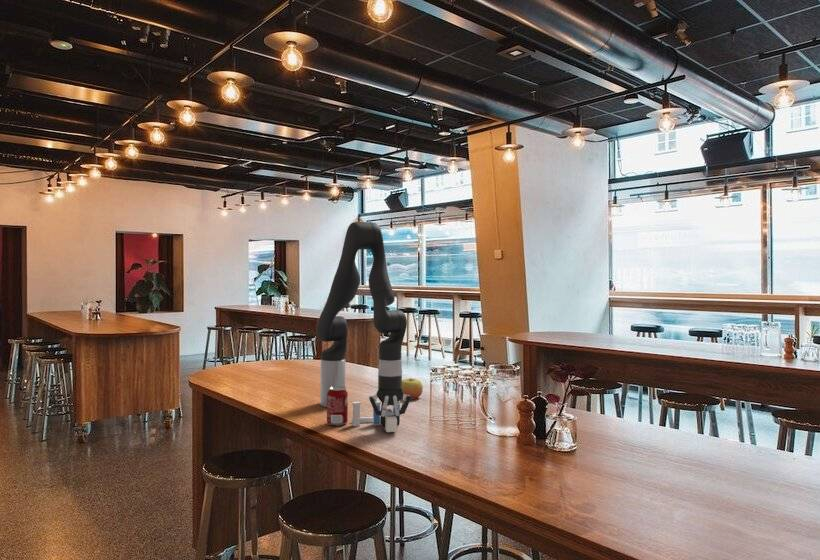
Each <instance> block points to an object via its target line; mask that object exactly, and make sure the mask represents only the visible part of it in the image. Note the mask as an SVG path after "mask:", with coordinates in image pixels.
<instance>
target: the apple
mask: <svg viewBox="0 0 820 560" xmlns="http://www.w3.org/2000/svg"><path fill="white" fill-rule="evenodd" d="M423 387H424V386H423V383H422V381H421V380H419V379H416V378H402V391H403V394H406V395H409V396H410V397H411V400H416V399H418V398H419V397H421V395H422V394H423V389H424V388H423Z"/></svg>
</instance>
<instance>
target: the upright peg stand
mask: <svg viewBox="0 0 820 560" xmlns="http://www.w3.org/2000/svg"><path fill="white" fill-rule="evenodd" d="M351 403H352V418H351V419H352V420H351V424H352V426H353V427H360V424H361V423H362V424H364V423H367V422H368V423H372V426H376V425H377V426H381V424H380V421H381V416H380V415H376V413H375V411H374V409H373V408H372V416H368V417H367V416H366V417H364V416H363V417H360V416H361V415H360V414H361V413H360V412H361V404H362V403H361V401H352V402H351ZM375 404H376V406H377V408H378V410H380V411H381V405H382V402H381V401H380V400H377V402H375ZM398 407H399V410H400V409H401V400H400V401H399V402H398ZM392 412H393V413H394V415H395V412H394V407H393V406H392ZM400 417H401V415H400V416H399V424H400V421H401V418H400ZM377 426H376V427H377Z"/></svg>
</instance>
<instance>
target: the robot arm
mask: <svg viewBox="0 0 820 560" xmlns="http://www.w3.org/2000/svg"><path fill="white" fill-rule="evenodd" d="M344 236H345V237H344V242H343V246H342V250H341V255H340V260H339V262H338V265H337V269H336V271H335V273H334V277H333V280H332V283H331V286H330V291H329V293H328V297H327V299H326V301H325V303H324V307H323V309H322V311H321V314H320V316H319V317H318V320H317V324H316V327H315V328H316V329H315V333H316V337H317V339H318V340H319V341H320V342H327V343H328V342H333V343H332V345H331V346H329V347H327V348H326V349H323V350H322V351H321V352H320V406H322V407H324V408H327V393H328V391H329V388H330V387H333V386H343V387H346V355H347V346H348V345H347V344H348V329H349V328H348V327H349V326H348V322H347V319H346V318H345V317H344V316H342V315H339V316H338V314H339V313H340V312H341V311H342V310H343V309H344V308H345V307H347V306H348V305H349V304H350V303H351V302H353V300H354V298H356V297H355V296H356V295H357V293H358V289H359V287H360V284H361V276H360V272H359V269H358V267H357V265H356V256H357V253H358V251H359V250H360V251H361V250H370V252H371V254H372V265H371V269H370V271H369V275H368V287H369V292H370V296H371V298H372V302H373V304H372V305H373V318H372V319H373V326H374V328H375V330H377V332H378V333H380V334H389V333H390V334H389V336H388V338H386V339H384V340H381V341H380V343H379V346H378V347H379V348H378V349H379V351H378V356H379V357H378V360H379V361H378V365H377V366H378V367H377V368H378V369H377V370H378V371H377V372H378V373H377V374H378V377H377V381H378V382H377V392H376V394H373V395H369V396H368V400H369V401H370V402H369V403H370V404H371V406H372V410H373V409H374V411H375V413H376V415H380V417H381V421H380V426H381V427H382V429H385V412H386V409H388V407H389V406H392V408H393V407H394V412H395V417H396V418H397V427H399V426H400V423H399V416H400V417H401V415H404V414H405V413H406V411H407V409H408V407H409V404H410V403H411V400H412V399H411V397H410V396H409V395H406V394H403V391H402V380H403V364H402V346H403V342H404V338H405V333H406V330H407V328H408V327H407V326H408V319H407V316H406V314H405V313H404V311H402V310H399V309H398V310H397V309H396V310H393V309H392V310H387V307H389V306H390V305H392V304H393V303H394V302H395V294H394V290H393V287H392V284H391V280H390V277H389V273H388V267H387V259H386V251H385V244H384V243H385V242H384V237H383V233H382V229H381V227H380V225H379V224H378V223H377V222H370V221H353V222H351V223H350V224H349V225H348V227H347V230H346V233H345V235H344ZM401 399H402V401H403V402H402V403H401V404H402V405H401V406H400V410H399V407H398V402H399V401H400V402H401ZM377 401H380V402H381V404H380V410H378V408H377V406H376V404H375V402H377Z"/></svg>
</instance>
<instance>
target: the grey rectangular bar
mask: <svg viewBox="0 0 820 560" xmlns="http://www.w3.org/2000/svg"><path fill="white" fill-rule="evenodd" d="M384 430H385V432H387V433H393V432H394V433H396V432H398V426H397V418H396V417H395V415H394V413H393V409H391V408H387V409H386V412H385V428H384Z"/></svg>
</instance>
